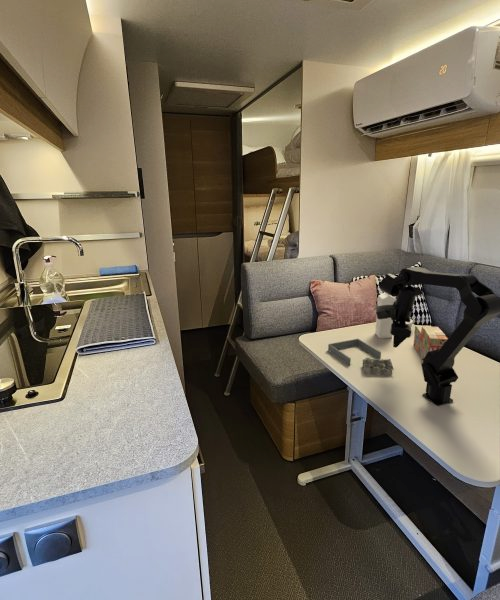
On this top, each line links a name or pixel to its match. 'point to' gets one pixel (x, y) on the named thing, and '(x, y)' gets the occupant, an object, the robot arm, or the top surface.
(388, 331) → the milk
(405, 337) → the robot arm
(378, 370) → the egg carton
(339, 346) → the box
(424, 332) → the stack of blocks
